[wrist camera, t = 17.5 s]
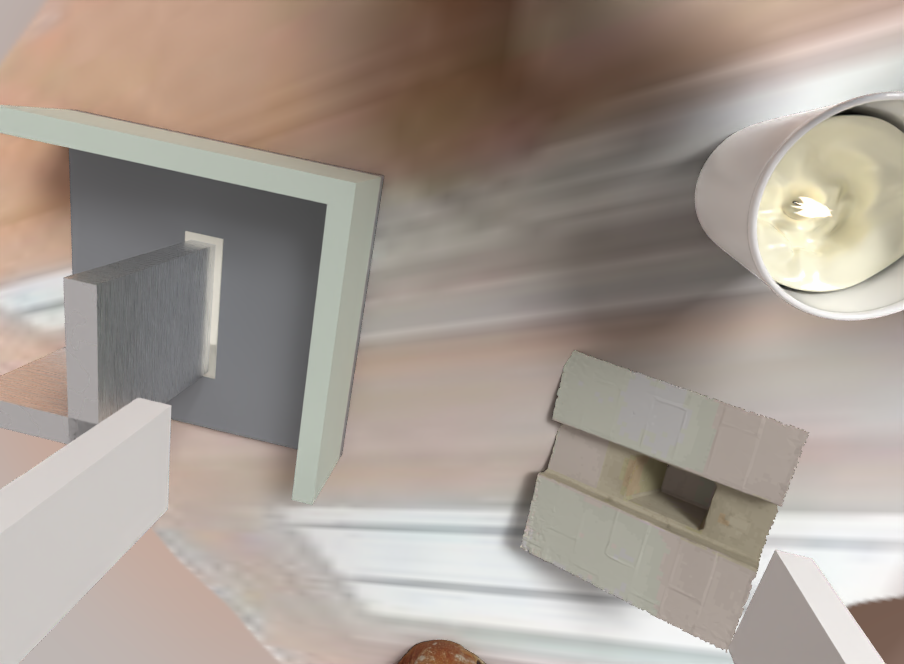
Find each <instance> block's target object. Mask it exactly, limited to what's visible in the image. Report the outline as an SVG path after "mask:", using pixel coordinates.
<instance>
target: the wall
mask: <svg viewBox="0 0 904 664" xmlns="http://www.w3.org/2000/svg"><path fill="white" fill-rule="evenodd" d="M563 371H564V374H563V373H562V378H561V382H560V388H558V392H557V395H558V396H559V397H558V398H557V399H556V403H555V405H556V406H555V408H554V412H553V417H552V419H553V421H557V422H559V423H562V425H561V427H560V428H559V429H558V431H557V433H558V434H557V435H556V438H557V439H556V440H555V446H554V447H553V450H552V451H553V454H552V455H551V459H550V461H549V465H548V467H549V468H548V470H546V471H544V472H541V473H539V474H538V476H537V477H538V478H537V479H536V481H537V482H536V485H535V488H534V494H533V499H532V501H531V505H530V510H529V512H530V514H528V521H526V523H527V524H526V526H525V527H526V529H524V535H523V540H522V542H523V543H522V544H521V545H520V548H523V550H525V551H526V552H527V550H528V551H529V553H530V554H531V553H532V554H533V556H536V557H538V558H540V559H541V558H542V560H543V561H546V562H550V563H553V564H554V565H555V566H557V567H559V568H562V569H563V570H564V571H567V572H570V573H571V574H573V575H576V577H579V578H581V579H582V580H585V581H586V582H590V583H591V584H594V585H595V586H596V587H599V588H600V589H601V590H604V591H605V592H608V593H609V594H613V595H614V596H616V597H617V598H621V599H622V600H625V601H626V602H628V603H629V604H631V605H633V606H635V607H638V609H640V608H641V610H646V611H647V612H648V613H650V614H651V615H653V616H655V617H657V618H659V619H662V620H663V621H667V623H668V624H669V623H670V624H672V625H673V626H676V627H678V628H680V629H683V630H682V631H685V632H687V633H689V634H691V635H693V636H694V637H699V638H700V639H701V640H704V641H705V642H710V644H714V645H715V646H716V648H721V649H722V650H723V649H726V652H727V649H728V648H729V645H730V643H731V641H732V638H733V635H734V634H735V629H736V626H737V625H738V622H739V618H740V617H741V615H742V611H743V610H744V608H742V607H743V606H744V605H745V603H746V602H747V599H748V596H749V594H750V592H749V591H750V590H751V588H752V585H751V582H752V580H753V579H754V578H755V577H756V574H757V573H756V572H757V571H758V567H759V561H760V559H759V558H760V557H761V555H760V554H761V553H762V548H763V546H764V544H766V542H765V541H767V540H766V539H765V538H766V535H769V533H768V532H769V529H771V526H772V525H773V523H774V522H773V520H774V519H775V517H776V514H777V513H778V509H777V505H778V506H782V505H783V502H784V500H783V498H784V497H785V495H784V494H785V493H786V491H787V490H788V489H789V485H790V479H792V478H793V477H792V475H794V471H795V469H794V467H796V468H797V463H799V462H798V457H800V456H801V454H802V453H801V452H802V448H803V446H804V443H806V439H807V438H808V436H809V435H808V434H809V432H806V431H804V429H799V428H795V427H794V426H792V425H790V426H787V425H784V426H783V424H782V423H781V422H780V421H779V422H778V421H776V420H775V419H772V418H767V417H766V416H765V417H764V416H762V415H761V414H760V416H758V414H755V413H754V412H746V411H744V410H745V409H741V408H740V407H738V408H737V407H736V406H734V407H733V406H732V405H730V404H726V403H723V402H722V401H719V400H717V399H714V398H713V399H712V400H711V399H709V398H708V397H707V396H705V395H701V394H698V393H697V392H691V390H687V389H684V388H679V386H678V387H676V386H675V385H672V384H669V383H667V382H664V381H662V380H661V381H660V380H656V379H655V378H651V377H648V376H646V375H645V374H641V373H638V372H636V373H635V374H634V372H633V370H632V371H631V372H630V370H629V369H626V368H623V367H622V366H621V367H618V366H617V365H613V364H611V363H609V362H607V361H603V360H599V359H595V358H594V357H592V356H591V355H590V356H589V357H588V356H586V354H583V353H580V352H578V351H576V350H574V351H573V353H572V355H571V357H570V358H569V359H568V361H567V362H566V364H565V365H564V368H563ZM667 464H668V465H670V466H669V467H668V468H667Z"/></svg>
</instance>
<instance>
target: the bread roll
mask: <svg viewBox="0 0 904 664" xmlns="http://www.w3.org/2000/svg"><path fill="white" fill-rule="evenodd" d="M398 664H486V663H484V662H483V661H482V660H481V659H480V658H479V657H478V656H476V655H475V654H473V653H471V652H470V651H468V650H466V649H464V648H463V647H462V646H461V645H459V644H457V643H454V642H452V641H447V640H432V641H426V642H422V643H419V644H416V645H415V646H414V647H413V648H412V649H411V650H409V651H408V653H407V654H406V655H404V657H403V658H402V659H401V661H400V662H399V663H398Z"/></svg>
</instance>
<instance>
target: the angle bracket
mask: <svg viewBox="0 0 904 664" xmlns="http://www.w3.org/2000/svg"><path fill="white" fill-rule="evenodd" d="M215 249H216V245H213V244H209V243H205V242H200V241H196V240H188V241H185V242H182V243H178V244H175V245H172V246H168V247H165V248H161V249H158V250H155V251H151V252H148V253H145V254H141V255H138V256H134V257H131V258H128V259H124V260H121V261H118V262H114V263H111V264H108V265H104V266H101V267H97V268H94V269H91V270H87V271H84V272H81V273H77V274H74V275H70V276H67V277H64V308H65V338H66V347H64V348H62V349H59V350H57V351H55V352H53V353H51V354H48V355H46V356H44V357H42V358H39V359H37V360H35V361H33V362H30V363H28V364H26V365H24V366H22V367H19V368H17V369H15V370H13V371H10V372H8V373H6V374H4V375H2V376H0V428H4V429H8V430H12V431H16V432H20V433H24V434H28V435H32V436H36V437H41V438H45V439H48V440H53V441H56V442H60V443H64V444H69V443H70V442H72V441H73V440H75V439H76V438H78V437H79V436H81V435H82V434H84V433H85V432H87V431H88V430H90V429H91V428H93V427H94V426H96V425H97V424H99V423H100V422H102V421H103V420H105V419H106V418H108V417H109V416H111V415H112V414H114V413H115V412H117V411H118V410H120V409H121V408H123V407H124V406H126V405H127V404H129V403H130V402H132V401H133V400H135V399H136V398H143V399H147V400H151V401H155V402H159V403H164V404H165V403H166V402H168V401H169V400H170V399H172V398H173V397H175V396H176V395H177V394H179V393H180V392H181V391H183V390H184V389H185V388H187V387H188V386H190V385H191V384H192V383H194V382H195V381H196V380H198V379H199V378H201V377H202V376H203V375H205V374H206V373H207V372H208V368H209V351H210V334H211V317H212V300H213V283H214V266H215Z"/></svg>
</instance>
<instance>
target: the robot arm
mask: <svg viewBox="0 0 904 664" xmlns="http://www.w3.org/2000/svg"><path fill="white" fill-rule="evenodd" d="M170 434H171V405H168V404H164V403H159V402H155V401H151V400H147V399H143V398H136V399H135V400H133V401H132V402H130V403H129V404H127V405H126V406H124V407H123V408H121V409H120V410H118V411H117V412H115V413H114V414H112V415H111V416H109V417H108V418H106V419H105V420H103V421H102V422H100V423H99V424H97V425H96V426H94V427H93V428H91V429H90V430H88V431H87V432H85V433H84V434H82V435H81V436H79V437H78V438H76V439H75V440H73V441H72V442H70V443H69V444H67V445H66V446H64V447H63V448H61V449H60V450H58V451H57V452H55V453H54V454H52V455H51V456H49V457H48V458H46V459H45V460H43V461H42V462H41V463H39V464H37V465H36V466H34V467H33V468H31V469H30V470H28V471H27V472H25V473H24V474H22V475H21V476H19V477H18V478H16V479H15V480H13V481H12V482H11V483H9V484H7V485H6V486H4V487H3V488H1V489H0V664H19V663H20V662H21V661H22V660H23V659H24V658H25V657H26V656H27V655H28V653H29V652H31V651H32V650H33V649H34V647H35V646H36V645H37V644H38V643H39V642H40V641H41V640H42V639H43V638H44V637H45V636H46V635H47V634H48V633H49V632H50V631H51V630H52V629H53V628H54V627H55V626H56V625H57V624H58V623H59V622H60V621H61V620H62V618H63V617H64V616H65V615H66V614H67V613H68V612H69V611H70V610H71V609H72V608H73V607H74V606H75V605H76V604H77V603H78V602H79V601H80V600H81V599H82V598H83V597H84V596H85V594H87V593H88V591H89V590H90V589H91V588H92V587H93V586H94V585H95V584H96V583H97V582H98V581H99V580H100V579H101V578H102V577H103V576H104V575H105V574H106V573H107V572H108V571H109V570H110V569H111V568H112V567H113V566H114V564H116V563H117V562H118V560H119V559H120V558H121V557H122V556H123V555H124V554H125V553H126V552H127V551H128V550H129V549H130V548H131V547H132V546H133V545H134V544H135V543H136V542H137V541H138V540H139V539H140V538H141V537H142V536H143V535H144V533H146V531H147V530H148V529H149V528H150V527H151V526H152V525H153V524H154V523H155V522H156V521H157V520H158V519H159V518H160V517H161V516H162V515H163V514H164V513H165V512H166V511H167V510H168V494H169V464H170ZM728 649H729V652H730V654H731V657H732V659H733V662H734V664H885V663H884V661H883V660H882V659H881V657H880V655H879V654H878V652H877V651H876V649H875V648H874V647H873V645H872V644H871V642H870V641H869V639H868V638H867V636H866V635H865V634H864V632H863V631H862V629H861V628H860V627H859V625H858V624H857V622H856V621H855V619H854V618H853V616H852V615H851V613H850V612H849V610H848V609H847V608H846V606H845V605H844V603H843V602H842V600H841V599H840V597H839V596H838V595H837V593H836V592H835V590H834V589H833V587H832V586H831V584H830V583H829V582H828V580H827V579H826V577H825V576H824V574H823V573H822V571H821V570H820V569H819V567H818V566H817V564H816V563H815V561H814V560H813V559H812V558H808V557H804V556H800V555H795V554H791V553H787V552H783V551H779V550H775V552H774V554H773V556H772V558H771V560H770V562H769V564H768V566H767V568H766V570H765V572H764V574H763V577H762V579H761V581H760V583H759V585H758V587H757V589H756V591H755V593H754V595H753V597H752V600H751V602H750V604H749V606H748V608H747V610H746V612H745V614H744V616H743V618H742V620H741V623H740V625H739V627H738V629H737V631H736V633H735V635H734V637H733V639H732V641H731V643H730V645H729V648H728Z"/></svg>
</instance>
